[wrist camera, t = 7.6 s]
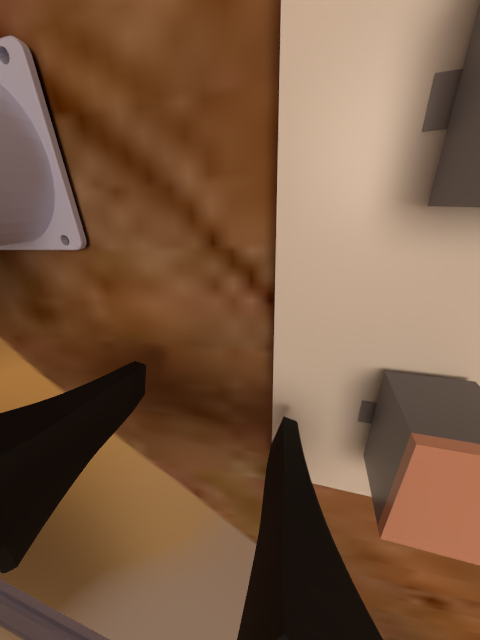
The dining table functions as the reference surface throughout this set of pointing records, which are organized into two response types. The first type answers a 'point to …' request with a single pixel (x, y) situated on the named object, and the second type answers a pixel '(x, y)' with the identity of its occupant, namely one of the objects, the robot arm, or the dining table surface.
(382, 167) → the switch unit
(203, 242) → the dining table surface
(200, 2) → the dining table surface
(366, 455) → the switch
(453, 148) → the switch middle
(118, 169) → the dining table surface
